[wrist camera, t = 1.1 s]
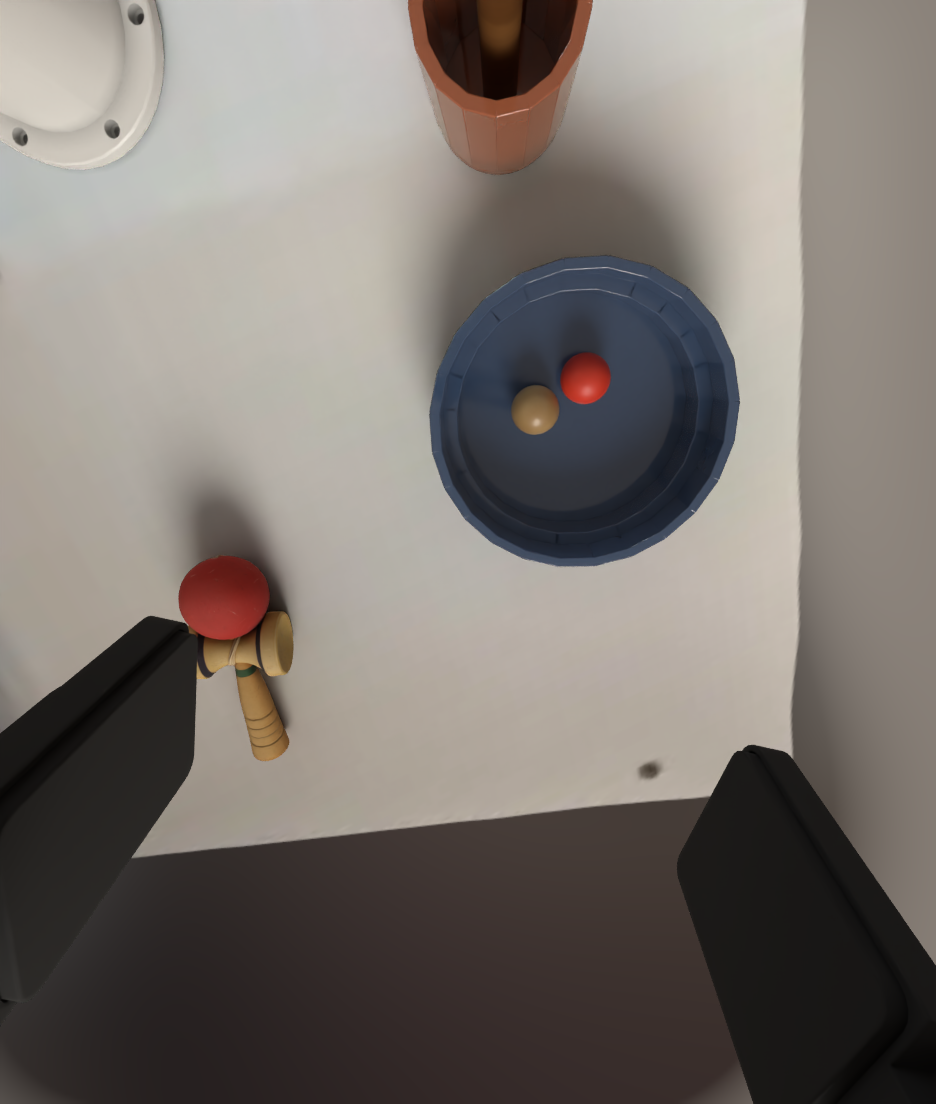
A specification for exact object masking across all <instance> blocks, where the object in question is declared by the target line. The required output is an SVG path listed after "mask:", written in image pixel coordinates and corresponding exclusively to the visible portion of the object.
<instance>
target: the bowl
mask: <svg viewBox="0 0 936 1104" xmlns="http://www.w3.org/2000/svg"><path fill="white" fill-rule="evenodd" d="M585 352H590V353H594V354H597V355H599V356H600V357H602V358H603V359H604V360H605V361H606V363H607V364H608V366H609V369H610V374H611V379H610V384H609V387H608V389H607V391H606V393H605V394H604V395H603V396H602V397H601V398H600V399H598V400H597V401H595V402H593V403H589V404H578V403H575V402H573V401H571V400H570V399H569V398H567V397H566V395H565V394H564V392H563V390H562V388H561V383H560V376H561V372H562V369H563V367H564V365H565V364H566V363H567V361H568V360H569V359H570V358H572V357H573V356H575V355H577V354H580V353H585ZM437 372H438V373H437V374H436V380H435V385H434V390H433V396H432V401H431V406H430V414H429V417H430V431H431V445H432V452H433V457H434V460H435V463H436V466H437V468H438V471H439V474H440V477H441V480H442V483H443V486H444V488H445V490H446V492H447V493H448V495H449V496H450V498H451V499H452V501H453V502H454V504H455V505H456V507H457V508H458V510H459V511H460V513H461V514H462V516H463V517H464V518H465V520H466V521H468V522H469V523H470V524H471V525H472V526H473V527H474V528H475V529H477V530H478V531H479V532H480V533H481V534H482V535H483V536H485V537H486V538H487V539H488V540H489V541H490V542H492V543H493V544H495V545H497V546H499V547H501V548H503V549H505V550H507V551H509V552H511V553H513V554H515V555H517V556H519V557H521V558H524V559H526V560H531V561H535V562H539V563H544V564H548V565H553V566H557V567H558V566H559V567H578V566H598V565H602V564H605V563H609V562H613V561H617V560H621V559H625V558H628V557H631V556H634V555H636V554H638V553H639V552H641V551H643V550H645V549H647V548H649V547H651V546H653V545H655V544H657V543H658V542H660V541H662V540H664V539H665V538H667V537H668V536H669V535H670V534H671V533H672V532H674V531H675V530H676V529H677V528H678V527H679V526H681V525H682V524H683V523H684V522H685V521H686V520H688V519H689V518H690V517H691V516H692V515H693V514H694V512H696V511H697V510H698V508H699V507H700V505H701V504H702V503H703V501H704V500H705V499H706V497H707V496H708V494H709V493H710V492H711V490H712V489H713V487H714V486H715V485H716V483H717V482H718V480H719V478H720V476H721V473H722V471H723V469H724V466H725V464H726V461H727V459H728V456H729V454H730V451H731V449H732V446H733V444H734V441H735V434H736V426H737V419H738V411H739V404H740V401H739V400H740V398H739V390H738V383H737V376H736V368H735V361H734V357H733V355H732V353H731V350H730V348H729V346H728V344H727V341H726V339H725V337H724V335H723V332H722V330H721V328H720V326H719V323H718V321H716V318H715V317H714V316H713V315H712V314H711V313H710V312H709V310H708V309H707V308H706V307H705V306H704V305H703V304H702V302H701V301H700V300H699V299H698V298H697V297H696V296H695V294H694V293H693V292H692V291H691V290H690V289H688V287H686V286H685V285H683V284H681V283H680V282H678V281H677V280H675V279H673V278H672V277H670V276H668V275H667V274H665V273H663V272H662V271H660V270H658V269H657V268H655V267H653V266H651V265H648V264H644V263H639V262H635V261H631V260H627V259H623V258H619V257H615V256H610V255H609V256H608V255H601V256H584V257H567V258H564V259H563V258H561V259H559V260H556V261H553V262H550V263H547V264H545V265H542V266H539V267H536V268H533V269H531V270H528V271H525V272H522V273H521V274H519V275H517V276H516V277H514V278H513V279H512V280H510V281H509V282H507V283H506V284H504V285H503V286H502V287H500V288H499V289H497V290H496V291H495V292H493V293H492V294H490V295H489V296H487V297H486V298H485V299H484V300H483V301H482V302H481V303H480V304H479V305H478V307H477V308H476V309H475V310H474V311H473V313H472V314H471V315H470V316H469V317H468V319H467V320H466V321H465V322H464V323H463V325H462V326H461V327H460V328H459V329H458V331H457V332H456V334H455V335H454V337H453V339H452V341H451V343H450V345H449V348H448V350H447V352H446V354H445V356H444V358H443V360H442V363H441V365H440V367H439V369H438V371H437ZM531 385H540V386H544V387H546V388H548V389H550V390H551V391H552V392H553V393H554V394H555V396H556V397H557V399H558V402H559V416H558V419H557V421H556V423H555V424H554V426H553V427H552V428H551V429H549V430H548V431H546V432H544V433H542V434H537V435H532V434H527V433H525V432H523V431H521V430H520V429H519V428H518V427H517V426H516V425H515V423H514V421H513V419H512V415H511V406H512V402H513V400H514V398H515V396H516V395H517V394H518V393H519V392H520V391H521V390H522V389H524V388H525V387H528V386H531Z"/></svg>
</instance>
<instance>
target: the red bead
mask: <svg viewBox="0 0 936 1104" xmlns="http://www.w3.org/2000/svg"><path fill="white" fill-rule="evenodd" d="M610 379H611V374H610V369H609V366H608V364H607V363H606V361H605V360H604V359H603V358H602V357H600V356H599V355H597V354H594V353H590V352H585V353H580V354H577V355H575V356H573V357H572V358H570V359H569V360H568V361H567V363H566V364H565V365H564V367H563V369H562V372H561V376H560V383H561V388H562V390H563V392H564V394H565V395H566V397H567V398H569V399H570V400H571V401H573V402H575V403H578V404H589V403H593V402H595V401H597V400H598V399H600V398H601V397H602V396H603V395H604V394H605V393H606V391H607V389H608V387H609V384H610Z"/></svg>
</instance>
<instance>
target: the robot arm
mask: <svg viewBox="0 0 936 1104" xmlns="http://www.w3.org/2000/svg"><path fill="white" fill-rule="evenodd" d="M143 19H144V20H143ZM142 21H143V22H142ZM163 69H164V49H163V38H162V29H161V24H160V20H159V16H158V12H157V7H156V3H155V0H0V140H1V141H2V142H4V143H5V144H7V145H9V146H10V147H12V148H14V149H15V150H17V151H19V152H20V153H22V154H24V155H26V156H28V157H31V158H33V159H36V160H38V161H41V162H43V163H45V164H49V165H53V166H57V167H60V168H64V169H79V170H87V169H92V168H97V167H102V166H105V165H107V164H109V163H111V162H113V161H115V160H117V159H119V158H121V157H123V156H124V155H125V154H126V153H127V152H128V151H130V150H131V149H132V148H133V147H134V146H135V145H136V144H137V143H138V141H139V140H140V139H141V137H142V136H143V135H144V133H145V132H146V130H147V129H148V127H149V125H150V123H151V120H152V118H153V116H154V114H155V111H156V109H157V106H158V102H159V97H160V93H161V89H162V84H163ZM119 132H120V134H119ZM197 649H198V640H197V636H196V635H195V634H191V633H189V628H188V626H187V624H185V623H183V622H178V621H173V620H169V619H164V618H159V617H155V616H148V617H146V618H144V619H143V620H141V621H140V622H139V623H138V624H137V625H135V626H134V627H133V628H132V629H130V630H129V631H128V632H127V633H126V634H124V635H123V636H122V637H121V638H120V639H118V640H117V641H116V642H115V643H113V644H112V645H111V646H110V647H109V648H107V649H106V650H105V651H104V652H102V653H101V654H100V655H99V656H98V657H96V658H95V659H94V660H93V661H91V662H90V663H89V664H88V665H87V666H85V667H84V668H83V669H82V670H80V671H79V672H78V673H77V674H76V675H74V676H73V677H72V678H71V679H69V680H68V681H67V682H66V683H65V684H63V685H62V686H61V687H59V688H57V689H56V690H54V691H52V692H51V693H49V694H48V695H47V696H46V697H44V698H43V699H42V700H41V701H40V702H38V703H37V704H36V705H35V706H33V707H32V708H31V709H30V710H28V711H27V712H26V713H25V714H24V715H22V716H21V717H20V718H19V719H17V720H16V721H15V722H14V723H13V724H11V725H10V726H9V727H8V728H6V729H5V730H4V731H3V732H1V733H0V1026H1V1024H2V1023H3V1022H4V1020H5V1019H6V1017H7V1016H8V1015H9V1013H10V1012H11V1010H12V1009H13V1007H14V1006H15V1005H16V1003H17V1002H21V1003H26V1002H27V1001H29V1000H31V999H32V998H33V997H34V996H35V995H36V994H37V993H38V991H39V990H40V989H41V987H42V986H43V985H44V983H45V982H46V981H47V979H48V978H49V976H50V975H51V973H52V972H53V970H54V969H55V967H56V966H57V965H58V963H59V962H60V960H61V959H62V957H63V956H64V954H65V953H66V952H67V950H68V949H69V947H70V946H71V944H72V943H73V941H74V940H75V939H76V937H77V935H78V934H79V933H80V931H81V930H82V928H83V927H84V925H85V924H86V923H87V921H88V920H89V918H90V917H91V915H92V914H93V912H94V911H95V910H96V908H97V907H98V905H99V904H100V902H101V901H102V899H103V898H104V896H105V895H106V894H107V892H108V891H109V889H110V888H111V886H112V885H113V883H114V882H115V881H116V879H117V878H118V876H119V875H120V873H121V872H122V870H123V869H124V867H125V866H126V865H127V863H128V862H129V860H130V859H131V857H132V856H133V855H134V853H135V852H136V850H137V849H138V847H139V846H140V844H141V843H142V842H143V840H144V839H145V837H146V836H147V834H148V833H149V831H150V830H151V828H152V827H153V826H154V824H155V823H156V821H157V820H158V818H159V817H160V815H161V814H162V813H163V811H164V810H165V808H166V807H167V805H168V804H169V802H170V801H171V800H172V798H173V797H174V795H175V794H176V792H177V791H178V789H179V788H180V786H181V785H182V784H183V782H184V781H185V779H186V777H187V776H188V774H189V771H190V769H191V766H192V763H193V759H194V741H195V711H196V680H197ZM677 873H678V879H679V882H680V885H681V888H682V891H683V894H684V897H685V900H686V903H687V906H688V909H689V912H690V915H691V918H692V921H693V924H694V927H695V930H696V933H697V936H698V939H699V941H700V945H701V947H702V951H703V954H704V957H705V960H706V963H707V966H708V969H709V972H710V975H711V978H712V981H713V983H714V987H715V990H716V993H717V996H718V999H719V1002H720V1005H721V1008H722V1011H723V1014H724V1017H725V1020H726V1023H727V1026H728V1029H729V1032H730V1035H731V1038H732V1041H733V1044H734V1047H735V1050H736V1053H737V1056H738V1059H739V1062H740V1064H741V1067H742V1071H743V1074H744V1077H745V1080H746V1083H747V1086H748V1089H749V1091H750V1095H751V1098H752V1101H753V1104H936V965H935V964H934V962H933V961H932V960H931V958H930V957H929V955H928V954H927V952H926V951H925V949H924V948H923V947H922V945H921V944H920V942H919V941H918V939H917V938H916V936H915V935H914V934H913V932H912V931H911V929H910V928H909V926H908V925H907V923H906V922H905V921H904V919H903V918H902V916H901V915H900V913H899V912H898V910H897V909H896V908H895V906H894V905H893V903H892V902H891V900H890V899H889V897H888V896H887V895H886V893H885V892H884V890H883V889H882V887H881V886H880V884H879V883H878V882H877V881H876V879H875V877H874V876H873V874H872V873H871V872H870V870H869V869H868V867H867V866H866V864H865V863H864V862H863V860H862V859H861V857H860V856H859V854H858V853H857V851H856V850H855V848H854V847H853V846H852V844H851V843H850V841H849V840H848V838H847V837H846V835H845V834H844V833H843V831H842V830H841V828H840V827H839V825H838V824H837V823H836V821H835V820H834V818H833V817H832V815H831V814H830V813H829V811H828V809H827V808H826V807H825V805H824V804H823V803H822V801H821V799H820V798H819V796H818V795H817V794H816V792H815V791H814V789H813V788H812V787H811V785H810V784H809V782H808V781H807V779H806V778H805V776H804V775H803V773H802V772H801V771H800V769H799V768H798V766H797V765H796V763H795V762H794V760H793V759H792V758H791V757H790V756H789V755H788V753H785V752H783V751H780V750H775V749H770V748H766V747H761V746H756V745H748V746H747V747H745V748H744V749H743V750H742V751H737V752H736V753H734V755H733V756H732V757H731V759H730V761H729V763H728V765H727V767H726V769H725V771H724V772H723V774H722V776H721V778H720V780H719V782H718V784H717V786H716V787H715V789H714V791H713V793H712V795H711V797H710V799H709V801H708V803H707V804H706V806H705V808H704V810H703V812H702V814H701V815H700V817H699V819H698V821H697V823H696V825H695V827H694V829H693V830H692V832H691V834H690V836H689V838H688V840H687V842H686V844H685V845H684V847H683V849H682V851H681V853H680V855H679V858H678V862H677Z"/></svg>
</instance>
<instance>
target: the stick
mask: <svg viewBox="0 0 936 1104" xmlns="http://www.w3.org/2000/svg"><path fill="white" fill-rule="evenodd" d="M476 1H477V14H478V28H479V41H480V55H481V69H482V82H483V95H484V97H485V98H489V99H493V100H500V99H504V98H508V97H512V96H516V95H517V81H518V66H519V50H520V34H521V18H522V3H523V0H476Z"/></svg>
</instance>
